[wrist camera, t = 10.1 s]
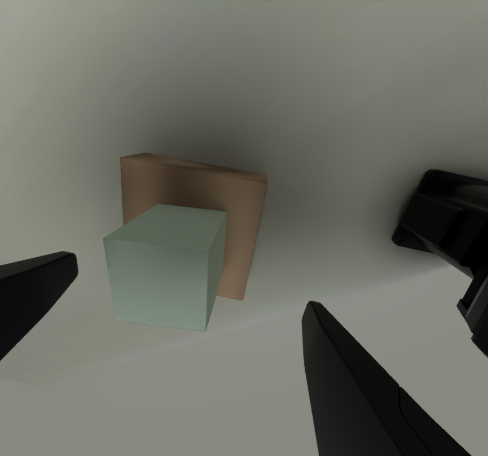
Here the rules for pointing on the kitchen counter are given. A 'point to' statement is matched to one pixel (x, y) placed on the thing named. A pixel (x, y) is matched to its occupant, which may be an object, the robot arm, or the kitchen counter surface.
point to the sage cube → (167, 266)
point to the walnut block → (200, 204)
